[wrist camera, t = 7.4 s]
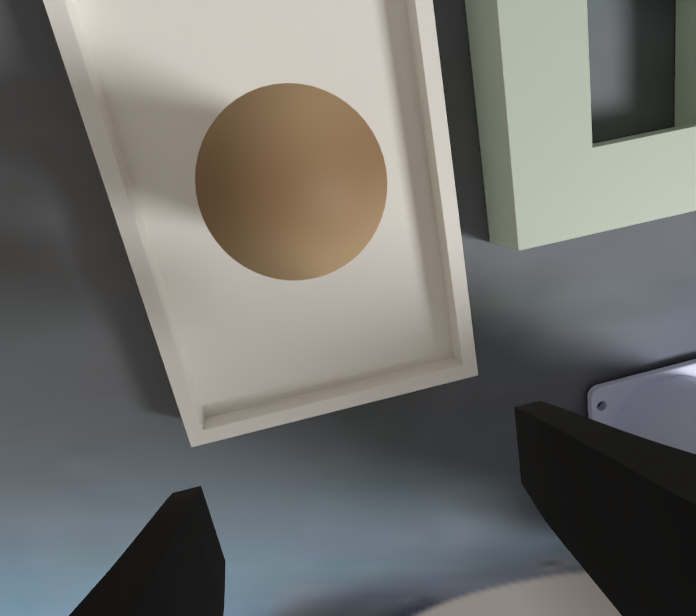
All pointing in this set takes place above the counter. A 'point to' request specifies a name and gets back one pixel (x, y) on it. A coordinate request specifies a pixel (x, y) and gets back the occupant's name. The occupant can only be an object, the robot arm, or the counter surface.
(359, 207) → the oak pin
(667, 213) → the pin holder
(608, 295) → the counter surface
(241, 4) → the tray
